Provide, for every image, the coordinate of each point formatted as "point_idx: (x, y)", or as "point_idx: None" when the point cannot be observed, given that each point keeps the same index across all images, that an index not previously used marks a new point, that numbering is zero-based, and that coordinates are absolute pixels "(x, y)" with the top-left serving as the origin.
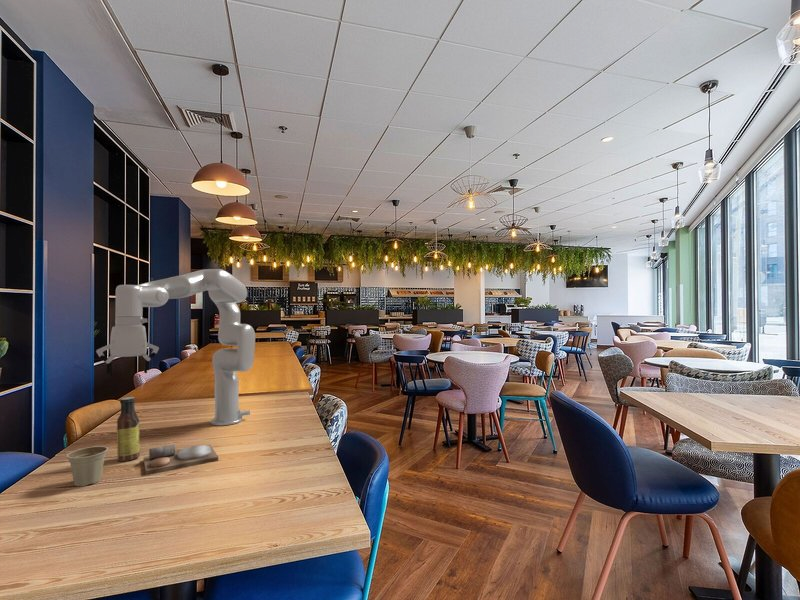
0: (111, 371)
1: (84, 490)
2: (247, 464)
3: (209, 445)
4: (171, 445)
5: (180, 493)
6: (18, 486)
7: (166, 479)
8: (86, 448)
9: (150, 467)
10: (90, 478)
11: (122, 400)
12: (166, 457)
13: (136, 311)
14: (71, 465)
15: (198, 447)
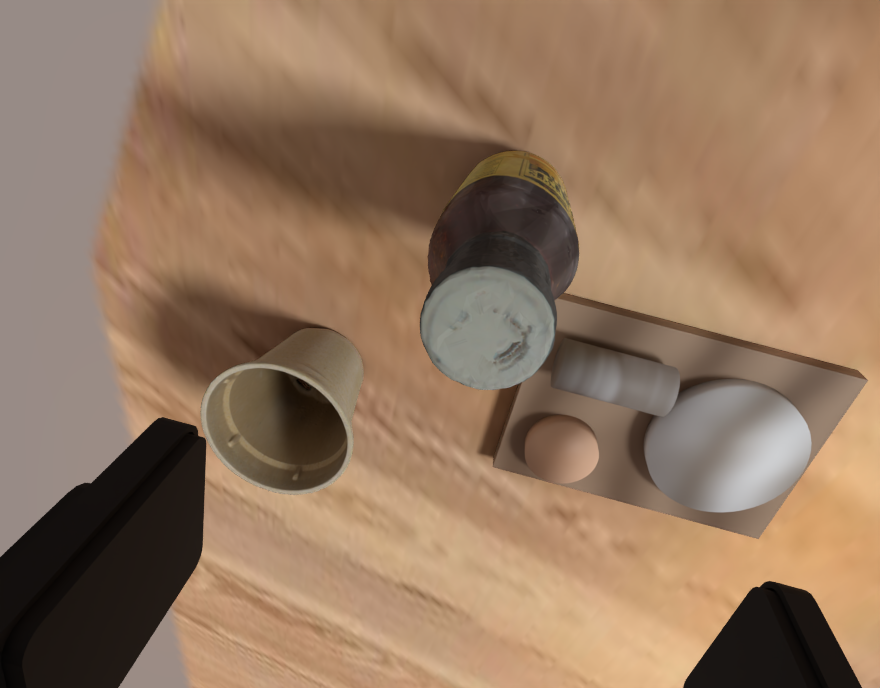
0: (153, 620)
1: None
2: None
3: (856, 386)
4: (657, 404)
5: (511, 638)
6: (110, 209)
7: (527, 537)
8: (274, 368)
9: (518, 446)
10: (318, 417)
11: (431, 355)
12: (594, 442)
13: None
14: (237, 412)
15: (768, 430)
